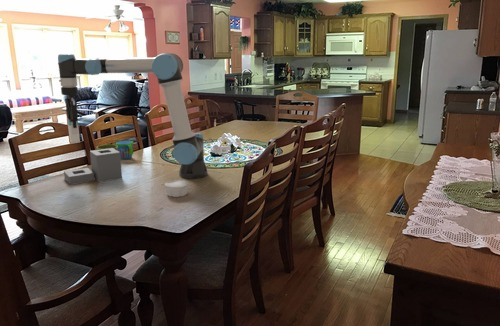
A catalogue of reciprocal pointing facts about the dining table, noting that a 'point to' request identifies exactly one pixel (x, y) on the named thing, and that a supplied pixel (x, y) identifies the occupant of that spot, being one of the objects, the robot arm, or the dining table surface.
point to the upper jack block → (106, 164)
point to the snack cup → (125, 149)
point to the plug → (74, 137)
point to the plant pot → (107, 147)
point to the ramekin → (176, 188)
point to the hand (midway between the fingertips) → (73, 133)
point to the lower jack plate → (79, 175)
